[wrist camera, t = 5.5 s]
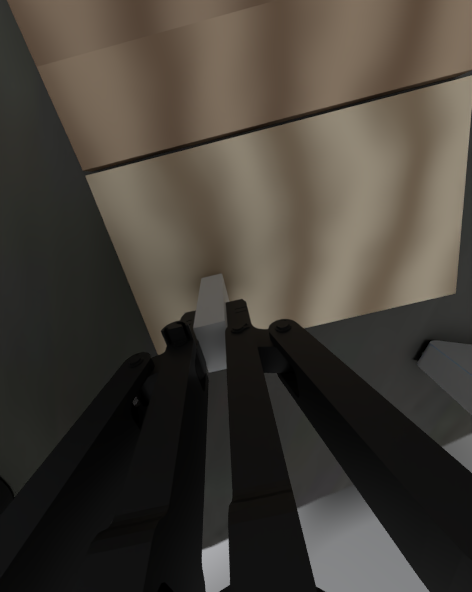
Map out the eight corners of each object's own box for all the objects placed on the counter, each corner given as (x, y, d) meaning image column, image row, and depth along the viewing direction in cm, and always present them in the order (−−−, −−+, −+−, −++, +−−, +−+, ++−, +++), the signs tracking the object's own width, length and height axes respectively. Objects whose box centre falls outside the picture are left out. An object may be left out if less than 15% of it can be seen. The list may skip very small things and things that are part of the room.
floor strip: (91, 171, 16) (82, 170, 15) (-6, -54, 12) (-28, -78, 11) (456, 76, 15) (475, 68, 14) (492, -202, 11) (522, -244, 10)
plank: (163, 353, 21) (160, 361, 20) (94, 178, 16) (85, 175, 15) (442, 288, 20) (455, 293, 19) (455, 84, 15) (474, 74, 14)
